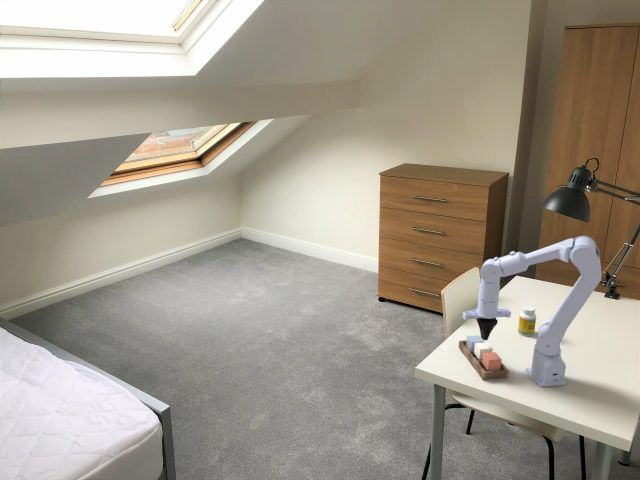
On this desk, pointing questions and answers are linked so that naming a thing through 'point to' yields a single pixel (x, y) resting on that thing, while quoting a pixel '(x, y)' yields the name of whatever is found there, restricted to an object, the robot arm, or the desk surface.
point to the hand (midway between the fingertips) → (484, 338)
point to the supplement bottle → (527, 321)
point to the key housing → (479, 366)
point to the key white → (482, 349)
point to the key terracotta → (491, 361)
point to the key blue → (473, 341)
